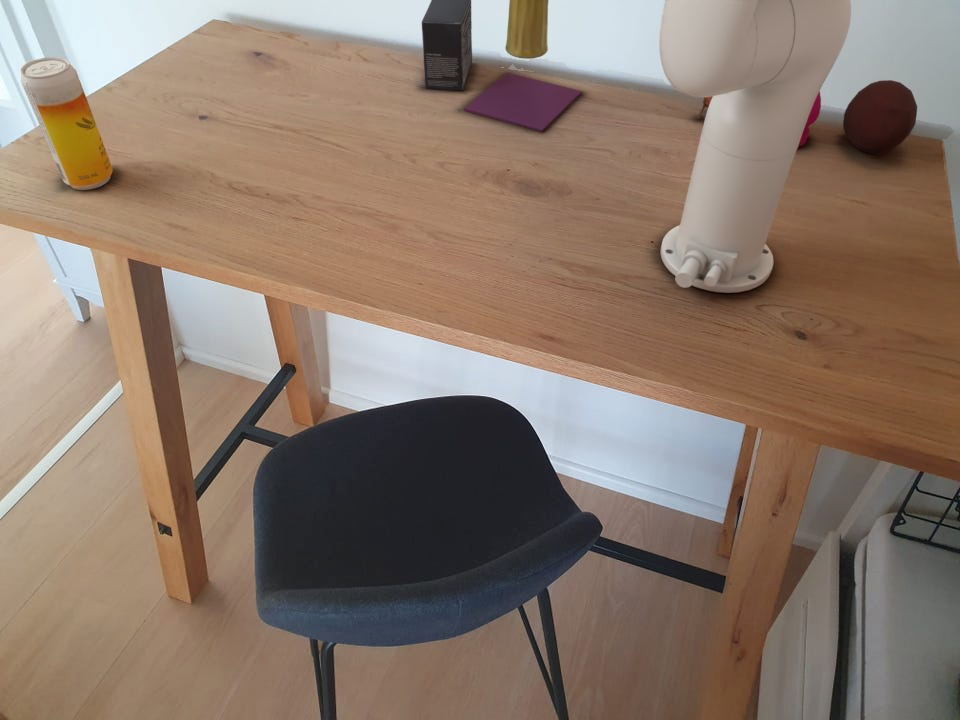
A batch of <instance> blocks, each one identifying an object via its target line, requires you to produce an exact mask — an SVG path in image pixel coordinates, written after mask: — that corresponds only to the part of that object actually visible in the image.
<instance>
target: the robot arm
mask: <svg viewBox="0 0 960 720" xmlns="http://www.w3.org/2000/svg"><path fill="white" fill-rule="evenodd" d="M851 19H852V3H851V0H664V4H663V10H662V15H661V21H660V28H659V42H658V43H659V47H658V48H659V49H658V50H659V58H660V63H661V66H662V70H663V73H664V75H665V77H666V79H667V80H668V82H669V83H670V85H671V86H672V88H674V89H675V90H676V91H678V92H679V93H681V94H683V95H685V96H687V97H692V98H700V99H701V98H702V99H703V97H712V96H713V97H712V100H711V102H710V105H709V107H708V108H707V111H706V114H705V118H704V122H703V125H702V129H701V133H700V137H699V141H698V146H697V150H696V155H695V158H694V163H693V167H692V172H691V176H690V180H689V183H688V189H687V193H686V197H685V201H684V207H683V210H682V214H681V219H680V223H679V225H676V226H675V227H673V228H671V229H670V230H669V231H667V233H666V234H665V235H664V236H663V238H662V242H661V246H660V252H659V253H660V257H661V261H662V263H663V264H664V266H665V267H666V269H667V270H668V271H669V272H670V273H671V274H672V275H673V276H675V277H674V280H675V283H676V284H677V285H678V286H679V287H681V288H684V289H685V288H686V289H688V288H690V287H691V286H692V287H695V288H698V289H701V290H703V291H704V290H705V291H707V292H708V291H709V292H714V293H725V294H730V293H732V294H733V293H741V292H747V291H750V290H752V289H755V288H757V287H760V286H761V285H762V284H764V283H765V282H766V281H767V280H768V278H769V277H770V275H771V273H772V271H773V268H774V267H773V266H774V263H775V262H774V255H773V253H772V250H771V249H770V248H769V246H768V245H767V244H766V242H767V240H768V237H769V234H770V230H771V228H772V225H773V222H774V218H775V215H776V213H777V209H778V206H779V203H780V201H781V199H782V195H783V192H784V189H785V185H786V183H787V180H788V177H789V174H790V171H791V168H792V165H793V161H794V159H795V156H796V153H797V150H798V148H799V147H798V145H799V142H800V139H801V136H802V133H803V130H804V128H805V125H806V122H807V119H808V116H809V114H810V111H811V109H812V106H813V104H814V102H815V100H816V97H817V95H818V93H819V91H820V92H821V89H822V87H823V86H824V83H825V82H826V80H827V78H828V76H829V75H830V72H831V70H832V69H833V67H834V65H835V63H836V61H837V59H838V58H839V56H840V54H841V52H842V49H843V47H844V45H845V42H846V39H847V37H848V34H849V29H850V25H851Z"/></svg>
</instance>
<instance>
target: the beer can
mask: <svg viewBox="0 0 960 720" xmlns="http://www.w3.org/2000/svg"><path fill="white" fill-rule="evenodd" d="M20 83H21V85H22V88H23V91H24V92H25V95H26V97H27V99H28V102H29V104H30V107H31V109H32V111H33V114H34V116H35V118H36V120H37V124H38V125H39V128H40V130H41V132H42V134H43V137H44V139H45V141H46V144H47V146H48V148H49V151H50V153H51V155H52V158H53V161H54V162H55V165H56V167H57V169H58V172H59V175H60V177H61V179H62V182H64V184H65V185H68V186H69V187H71V188H73V189H75V190H78V191H79V190H81V191H87V190H93V189H97V188H100V187H102V186H103V185H106V184H107V183H108V182H109V181H110V179H111V175H112V173H113V172H114V171H113V170H114V169H113V166H112V163H111V161H110V157H109V155H108V152H107V150H106V147H105V144H104V142H103V138H102V136H101V134H100V131H99V128H98V126H97V123H96V120H95V118H94V115H93V111H92V110H91V107H90V104H89V101H88V98H87V96H86V94H85V91H84V88H83V85H82V82H81V79H80V77H79V75H78V72H77V70H76V69H75V68H74V67H73V65H72V64H71V63H70V61H69V60H68V59H66V58H63V57H58V56H50V57H49V56H47V57H41V58H36V59H34V60H31V61H29V62H27V63H25V64H23V65H22V66H21V68H20Z"/></svg>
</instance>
